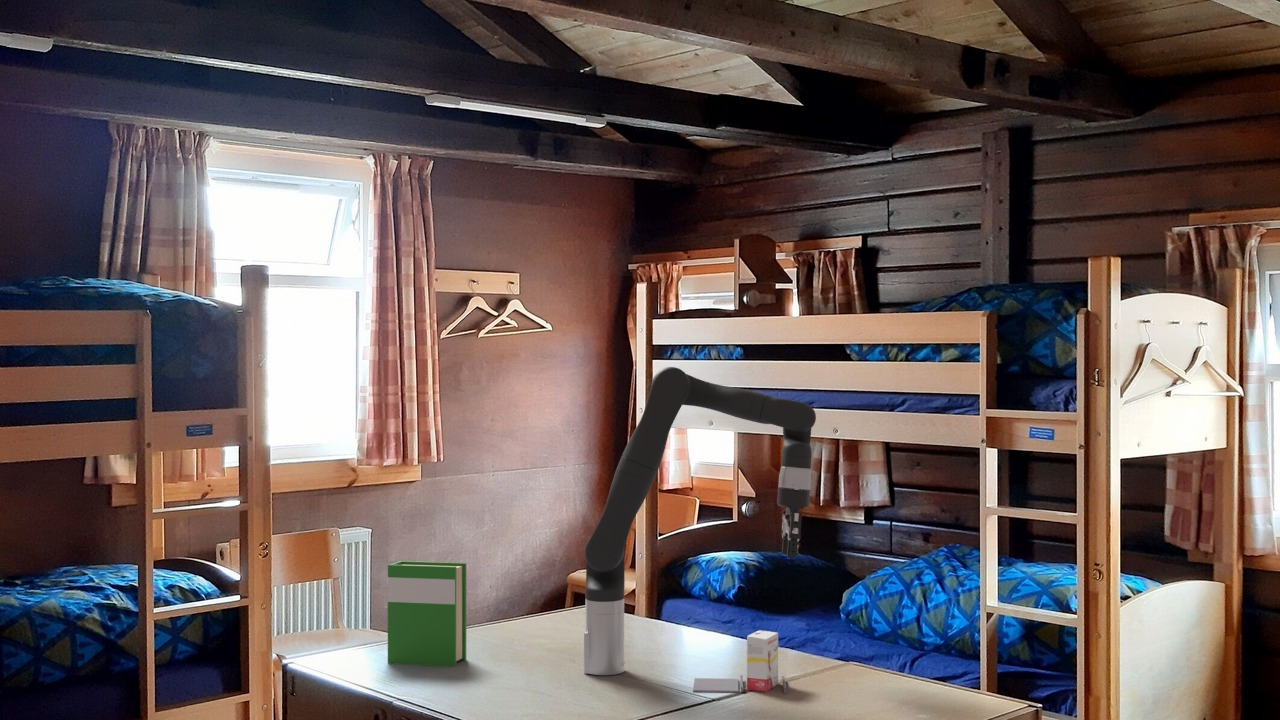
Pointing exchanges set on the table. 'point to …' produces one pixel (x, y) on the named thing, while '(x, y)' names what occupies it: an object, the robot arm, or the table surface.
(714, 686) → the grey flat slab
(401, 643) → the hardback book
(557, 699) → the table surface
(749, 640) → the ink box
